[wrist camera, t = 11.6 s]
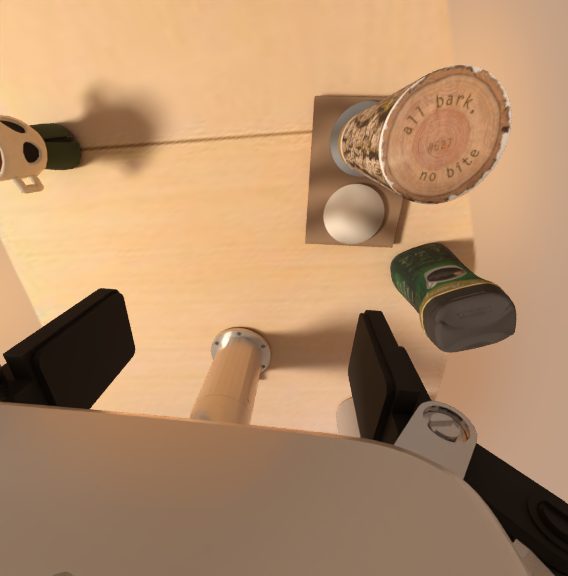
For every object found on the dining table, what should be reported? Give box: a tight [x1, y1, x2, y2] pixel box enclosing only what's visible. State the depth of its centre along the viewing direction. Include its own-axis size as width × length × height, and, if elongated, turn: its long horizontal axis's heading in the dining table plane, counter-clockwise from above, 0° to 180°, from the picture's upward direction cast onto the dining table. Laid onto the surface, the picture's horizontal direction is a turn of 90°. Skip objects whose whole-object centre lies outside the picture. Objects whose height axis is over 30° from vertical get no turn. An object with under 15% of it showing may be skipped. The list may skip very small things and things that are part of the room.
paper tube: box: [338, 65, 512, 204], centre depth 26 cm, size 7×7×25 cm
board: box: [305, 96, 403, 248], centre depth 41 cm, size 20×14×2 cm
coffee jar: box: [390, 244, 516, 352], centre depth 39 cm, size 10×8×19 cm
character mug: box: [0, 115, 81, 193], centre depth 37 cm, size 11×7×13 cm, turn 21°
